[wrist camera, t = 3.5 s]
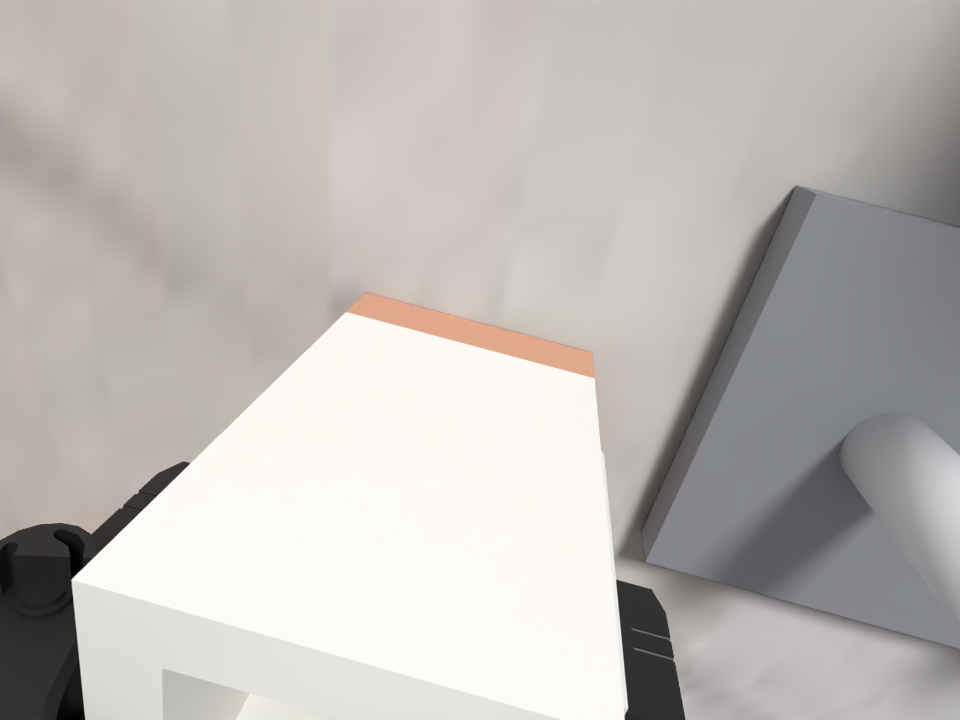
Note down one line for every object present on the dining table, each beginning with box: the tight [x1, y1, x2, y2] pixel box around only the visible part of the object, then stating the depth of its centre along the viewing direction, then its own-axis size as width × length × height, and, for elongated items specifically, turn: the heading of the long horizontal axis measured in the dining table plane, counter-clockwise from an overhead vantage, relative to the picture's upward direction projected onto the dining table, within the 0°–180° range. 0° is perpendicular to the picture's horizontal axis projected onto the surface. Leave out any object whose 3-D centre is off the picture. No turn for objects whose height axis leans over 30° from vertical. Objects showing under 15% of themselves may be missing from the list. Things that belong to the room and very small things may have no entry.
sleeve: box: [72, 293, 625, 720], centre depth 12 cm, size 6×6×10 cm
